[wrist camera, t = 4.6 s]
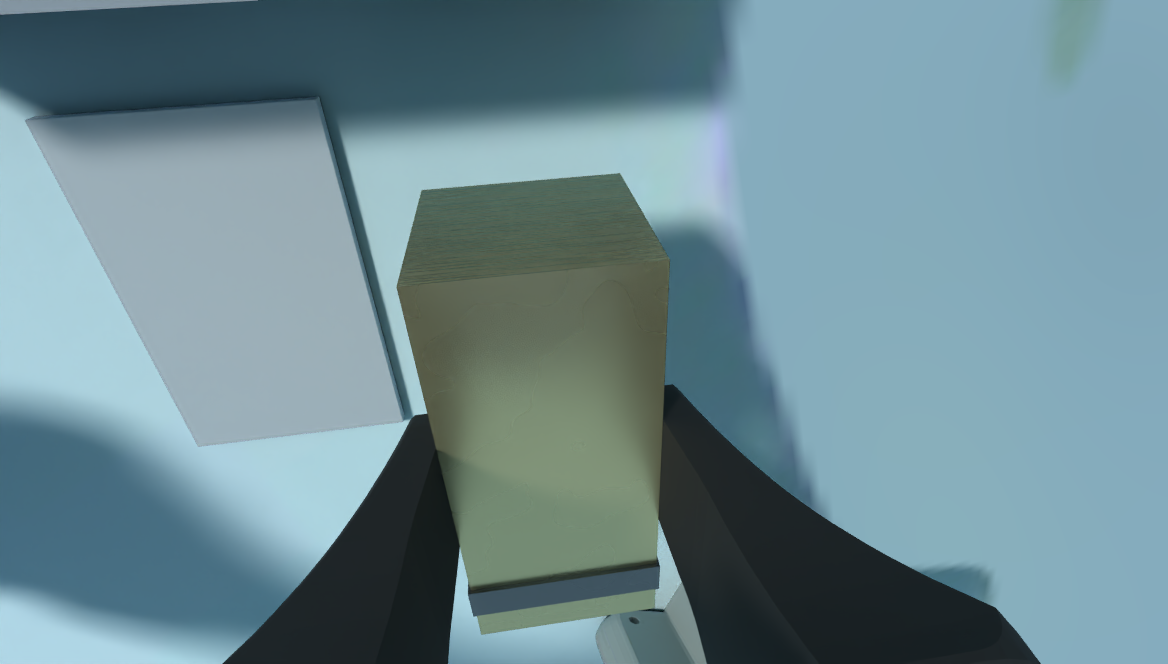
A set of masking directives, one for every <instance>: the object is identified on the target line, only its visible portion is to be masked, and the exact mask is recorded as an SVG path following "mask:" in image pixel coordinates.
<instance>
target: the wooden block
mask: <svg viewBox="0 0 1168 664" xmlns="http://www.w3.org/2000/svg"><path fill="white" fill-rule="evenodd" d="M669 268H670V259H669V257H668V256H667V254H666V252H665V250H664V249H663V247H662V245H661V244H660V242H659V240H658V238H657V237H656V235H655V233H654V231H653V230H652V228H651V226H650V224H649V223H648V221H647V219H646V218H645V216H644V214H643V212H642V211H641V209H640V207H639V205H638V204H637V202H636V200H635V198H634V197H633V195H632V193H631V192H630V190H629V188H628V186H627V185H626V183H625V181H624V179H623V178H622V176H621V174H620V173H618V174H606V175H594V176H582V177H571V178H559V179H547V180H535V181H524V182H512V183H500V184H488V185H477V186H465V187H453V188H441V189H430V190H422V191H421V195H420V199H419V202H418V206H417V210H416V214H415V218H414V222H413V226H412V229H411V233H410V237H409V241H408V245H407V249H406V253H405V256H404V260H403V264H402V268H401V272H400V276H399V280H398V283H397V291H398V295H399V299H400V303H401V307H402V311H403V315H404V319H405V323H406V327H407V332H408V336H409V340H410V344H411V348H412V352H413V356H414V360H415V364H416V368H417V373H418V377H419V381H420V385H421V389H422V393H423V397H424V401H425V405H426V409H427V414H428V418H429V422H430V426H431V430H432V434H433V438H434V442H435V446H436V450H437V455H438V459H439V463H440V467H441V471H442V475H443V479H444V483H445V487H446V491H447V496H448V500H449V504H450V508H451V512H452V516H453V520H454V524H455V528H456V532H457V537H458V541H459V545H460V549H461V553H462V557H463V561H464V565H465V569H466V573H467V577H468V597H469V601H470V605H471V609H472V613H473V617H474V616H477V618H478V623H479V627H480V631H481V635H483V634H489V633H496V632H502V631H509V630H515V629H522V628H528V627H535V626H541V625H548V624H554V623H561V622H567V621H574V620H580V619H587V618H593V617H600V616H606V615H613V614H619V613H626V612H632V611H639V610H645V609H652V608H655V589H659V574H660V565H659V562H658V558H657V540H658V517H659V495H660V472H661V449H662V427H663V404H664V382H665V359H666V336H667V314H668V291H669Z"/></svg>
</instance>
